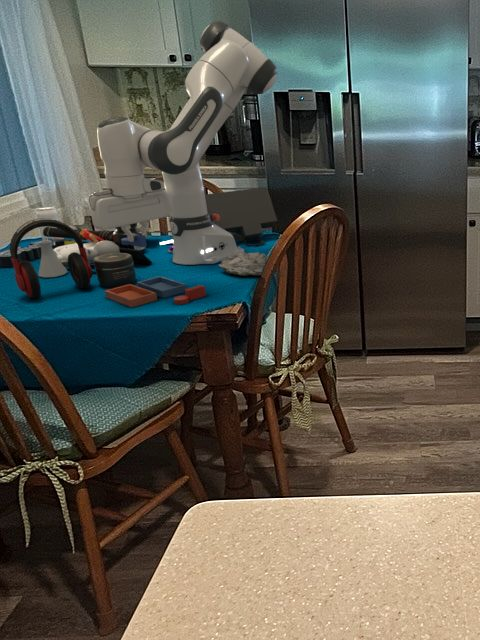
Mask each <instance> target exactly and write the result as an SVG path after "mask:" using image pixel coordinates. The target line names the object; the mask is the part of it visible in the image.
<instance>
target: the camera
mask: <svg viewBox="0 0 480 640" xmlns="http://www.w3.org/2000/svg"><path fill="white" fill-rule="evenodd" d="M205 199H206V206H207V212H208V213H210V214H219V215H220V217H219V218H220V219H219V220H218V221H217V220H213V221H214V224H216V225H217V226H219V227H221V228H222V229H224V230H226V231H227V232H233V233H237V234H238V236H240V237H242V238H244V239H245V241H246V242H247V241H253V240H257V238H259V237H262V236H263V234H264V230H263V229H270V228H273V227H274V226H275V224H276V223H277V222H278V218H277V214H276V212H275V208H274V206H273V201H272V198H271V196H270V192H269V190H268V187H267V186H264V187H257V188H256V187H255V188H248V189H240V190H239V189H238V190H232V191H231V190H230V191H222V192H215V193H214V192H213V193H205ZM239 242H240V243H241V242H243V240H242V239H240V238H239Z"/></svg>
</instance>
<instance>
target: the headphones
mask: <svg viewBox="0 0 480 640" xmlns="http://www.w3.org/2000/svg"><path fill="white" fill-rule="evenodd" d="M44 226H50V227H56V228H59V229H62V230H64V231H65V232H67V233H68V234H69V235H71V236H72V238H73V239H72V238H71V239H72V240H73V241H75V242H76V243H77V245H78V248H79V252H80V254H78V253H76V252H73V253H70V254H69V256H68V266H69V268H68V269H69V273H70V277H71V278H72V280H73V282H74V284H75V285H76V286H77V287H78V288H80V289H86V288H87V287H89V285H90V284H91V279H92V278H93V271H92V270H93V269H92V266H91V265H90V264H89V262H88V260H87V254H86V250H85V248H84V245H83V241H84V240H82V239H81V237H80V236H79V235H78V233H77V232H76V231H75V230H76V229H75V230H73V228H72V227H71V226H69V225H68V224H67V223H64V222H62V221H60V220H59V221H57V220H54V219H47V218H42V219H37V218H36V219H32V220H28V221H26V222H25V223H23V224H22V225H21V226H20V227H18V228H17V229H16V231H15V232H14V233H13V235H12V237H11V239H10V243H9V249H10V254H11V256H12V257H11V259H12V263H13V267H12V268H13V269H14V278H15V282H16V285H17V287H18V289H19V290H20V291H21V292H23V293H25V294H26V295H27V297H30V298H31V299H37V298H39V297H40V296H41V294H42V290H41V289H42V287H41V283H40V279H39V276H38V273H37V271H36V269H35V267H34V266H33V264H32V263H31V261H22V262H20V263H18V259H17V250H18V247H19V245H20V243H21V241H22V239H23V238H24V237H25V236H26V234H28V233H29V232H31V231H33V230H34V229H37V228H38V229H39V227H44Z"/></svg>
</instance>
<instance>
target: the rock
mask: <svg viewBox="0 0 480 640" xmlns="http://www.w3.org/2000/svg"><path fill="white" fill-rule="evenodd" d="M267 258H268V256H267V253H260V252H245V253H238V254H236V255H234V256H231V257H227V258H226V259H225V260H223V261H221V263H220V264H218V268H220V269H222V270H223V271H224V272H226V273H227V274H234V275H239V276H241V277H242V276H261V275H260V273H261V271H262V269H263V267H264V264H265V262H266V260H267ZM279 271H280V269H279V270H275V272H279Z"/></svg>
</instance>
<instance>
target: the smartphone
mask: <svg viewBox="0 0 480 640" xmlns="http://www.w3.org/2000/svg"><path fill="white" fill-rule="evenodd" d="M119 250H120V253H128V254H130V255H131V256H132V259H133V262H134V263H135V264H144V265H147V264H148V265H152V264H153V261H152V260H151V259H149V258H148V257H147V256H146V255H145V253H144V252H141V251H139V250H135V249H125V248H119Z"/></svg>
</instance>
